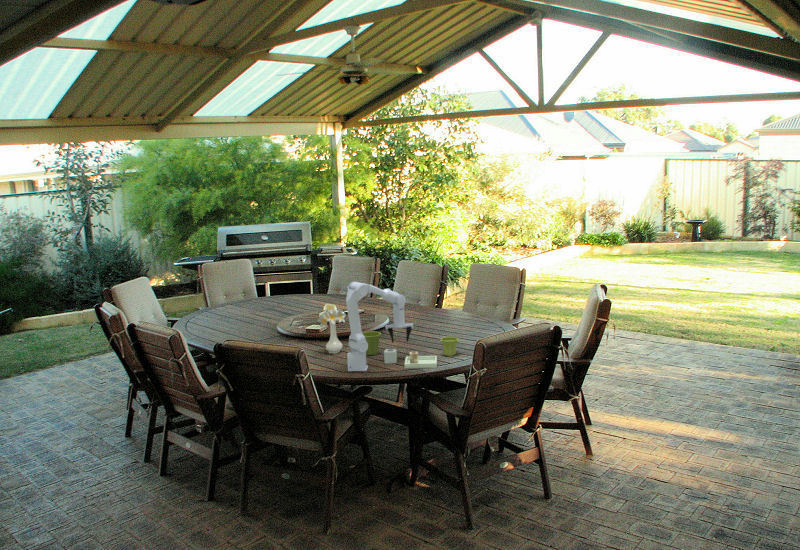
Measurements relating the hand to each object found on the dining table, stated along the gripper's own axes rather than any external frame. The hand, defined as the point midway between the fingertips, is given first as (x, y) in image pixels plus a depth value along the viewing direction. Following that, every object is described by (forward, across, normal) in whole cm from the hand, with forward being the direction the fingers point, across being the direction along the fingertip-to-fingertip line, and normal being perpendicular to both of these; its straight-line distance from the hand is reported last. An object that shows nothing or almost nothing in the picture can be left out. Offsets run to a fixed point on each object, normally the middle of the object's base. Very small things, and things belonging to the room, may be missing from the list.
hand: (400, 341), depth 330 cm
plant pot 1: (+10, -15, +14) cm, 23 cm away
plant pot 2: (+10, +27, +2) cm, 28 cm away
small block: (+9, +6, -13) cm, 17 cm away
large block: (+10, -6, -3) cm, 11 cm away
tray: (+9, +9, -12) cm, 18 cm away
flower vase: (+10, -35, +22) cm, 42 cm away
